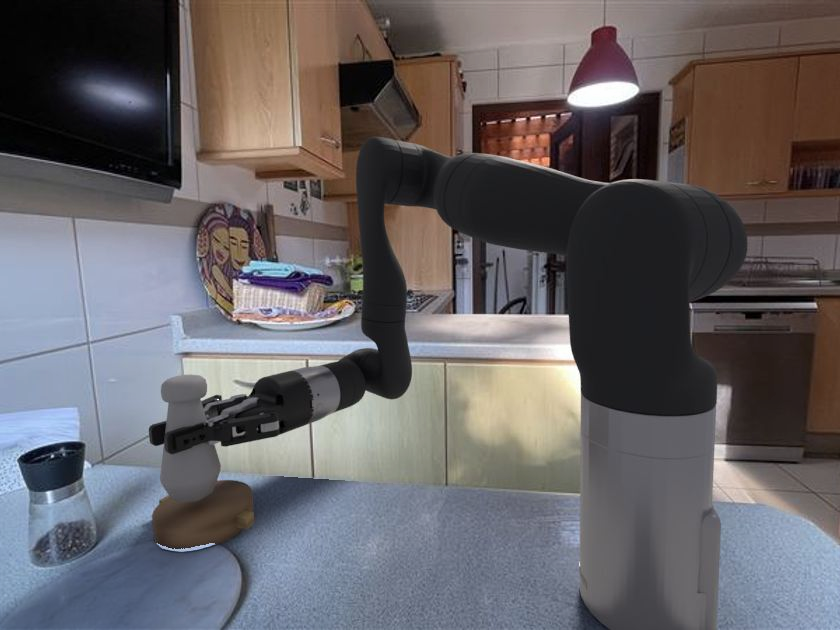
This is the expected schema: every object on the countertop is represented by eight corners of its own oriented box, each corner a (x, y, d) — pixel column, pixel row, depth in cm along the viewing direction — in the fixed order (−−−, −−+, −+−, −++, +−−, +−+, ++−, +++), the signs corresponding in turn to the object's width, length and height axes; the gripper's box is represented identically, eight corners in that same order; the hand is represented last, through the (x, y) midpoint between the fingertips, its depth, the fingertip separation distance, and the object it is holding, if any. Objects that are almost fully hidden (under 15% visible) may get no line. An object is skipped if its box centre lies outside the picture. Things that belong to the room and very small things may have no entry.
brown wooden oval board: (281, 508, 51) (279, 488, 51) (214, 563, 42) (212, 539, 42) (200, 492, 56) (198, 474, 55) (123, 539, 46) (120, 517, 46)
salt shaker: (233, 485, 49) (226, 372, 48) (189, 512, 44) (179, 386, 42) (195, 477, 51) (187, 369, 50) (149, 501, 46) (138, 381, 44)
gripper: (264, 364, 62) (127, 393, 48) (332, 377, 53) (188, 418, 40) (267, 415, 63) (133, 458, 49) (334, 436, 54) (194, 495, 41)
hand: (159, 440), depth 44 cm, fingers closed on salt shaker, 3 cm apart
